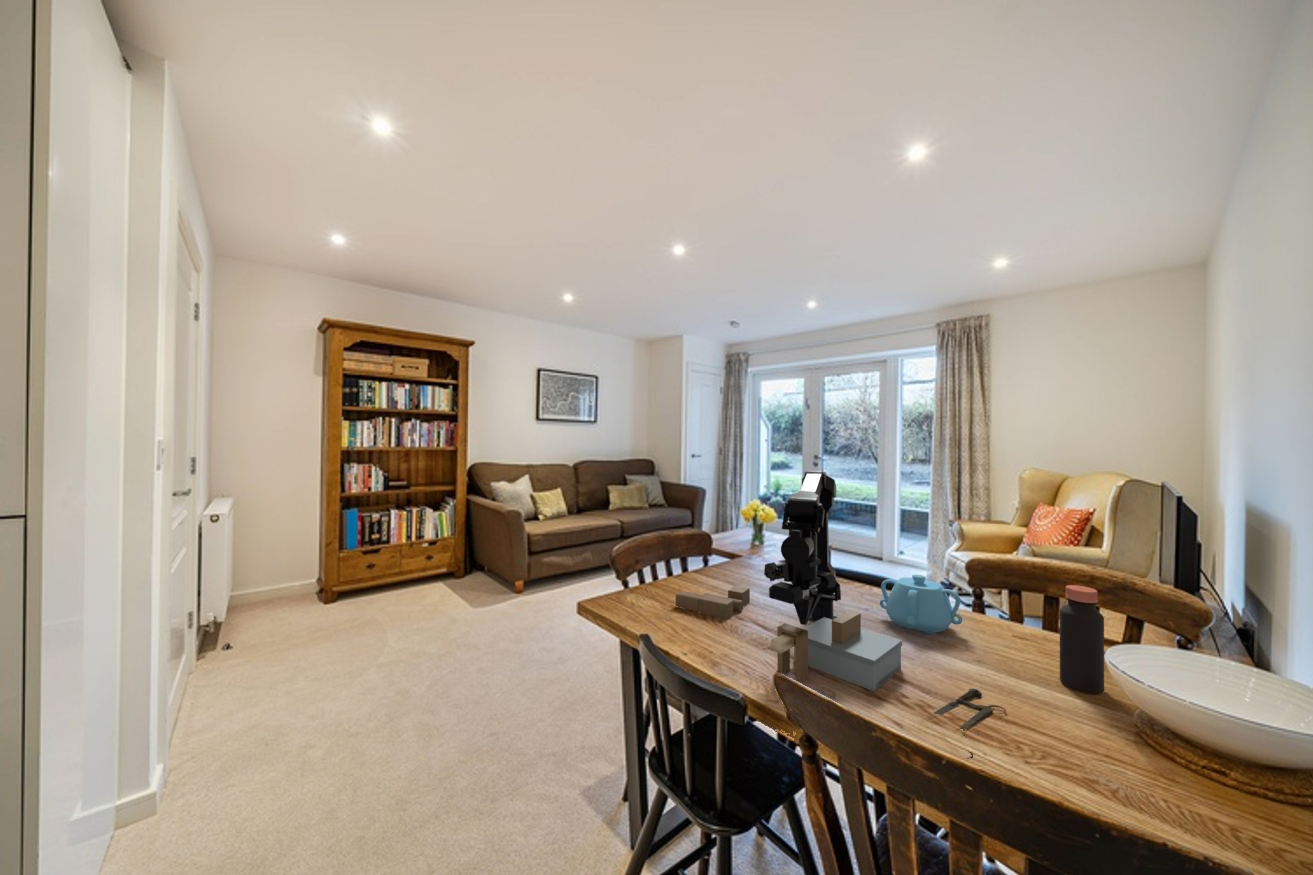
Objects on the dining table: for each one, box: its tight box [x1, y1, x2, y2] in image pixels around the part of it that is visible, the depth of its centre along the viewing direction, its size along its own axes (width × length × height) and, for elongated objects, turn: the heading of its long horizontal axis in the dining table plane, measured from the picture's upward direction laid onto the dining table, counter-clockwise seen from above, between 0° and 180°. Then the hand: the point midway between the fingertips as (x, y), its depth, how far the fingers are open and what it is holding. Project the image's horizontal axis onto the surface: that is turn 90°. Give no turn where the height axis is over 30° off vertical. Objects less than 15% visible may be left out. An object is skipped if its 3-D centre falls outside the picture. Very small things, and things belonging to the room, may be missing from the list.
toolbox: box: [776, 623, 902, 692], centre depth 105 cm, size 21×18×10 cm
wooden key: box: [770, 633, 795, 654], centre depth 102 cm, size 10×2×2 cm, turn 133°
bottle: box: [1059, 584, 1105, 695], centre depth 97 cm, size 7×7×20 cm
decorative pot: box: [879, 574, 963, 635], centre depth 129 cm, size 16×16×14 cm
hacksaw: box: [917, 688, 1007, 760], centre depth 85 cm, size 24×10×2 cm, turn 122°
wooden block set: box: [675, 585, 751, 620], centre depth 145 cm, size 17×6×18 cm
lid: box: [801, 610, 903, 667], centre depth 107 cm, size 14×18×7 cm
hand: (803, 624), depth 106 cm, fingers closed
